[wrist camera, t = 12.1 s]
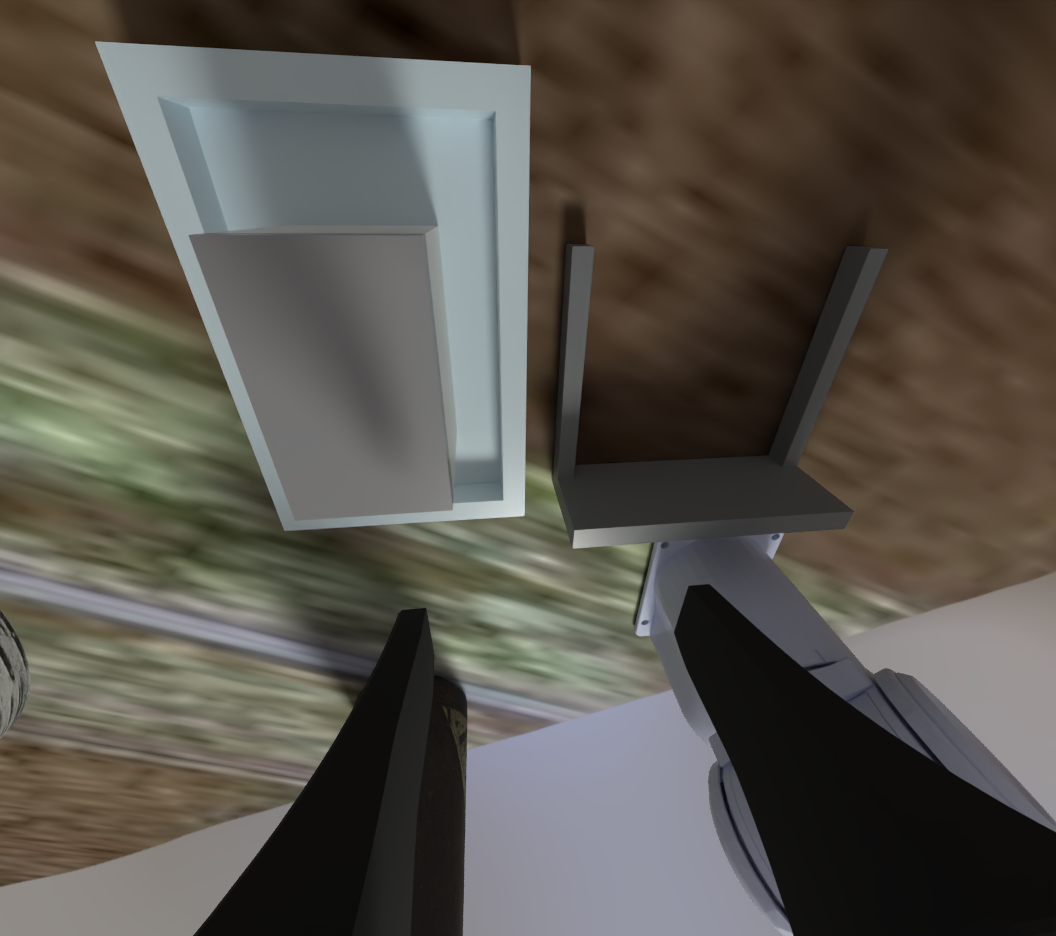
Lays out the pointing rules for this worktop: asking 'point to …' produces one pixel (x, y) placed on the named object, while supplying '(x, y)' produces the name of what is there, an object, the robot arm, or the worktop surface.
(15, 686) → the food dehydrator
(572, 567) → the worktop surface
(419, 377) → the block
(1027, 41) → the worktop surface
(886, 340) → the worktop surface
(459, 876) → the container
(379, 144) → the tray
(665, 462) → the bay
